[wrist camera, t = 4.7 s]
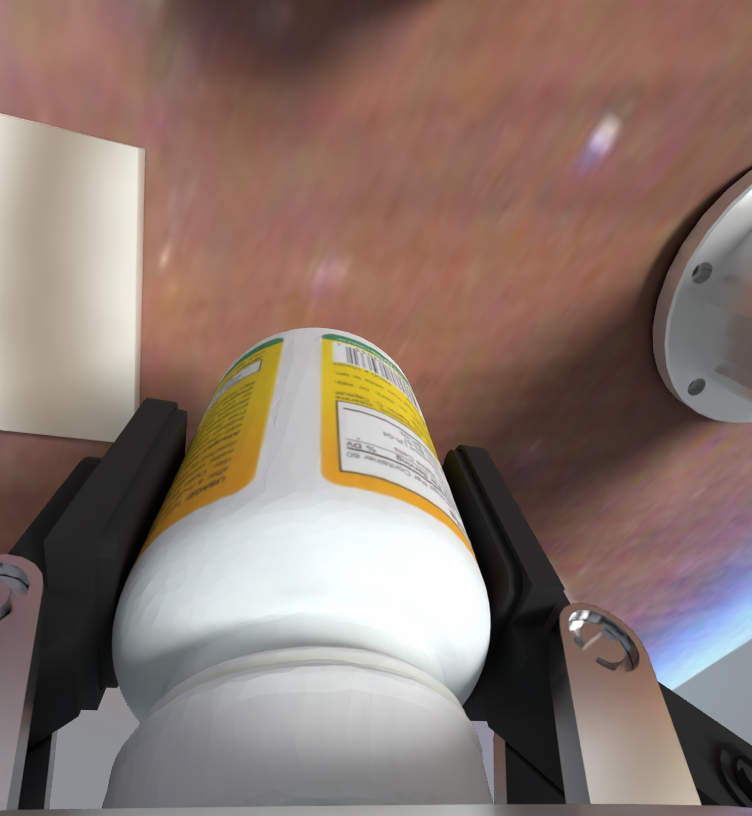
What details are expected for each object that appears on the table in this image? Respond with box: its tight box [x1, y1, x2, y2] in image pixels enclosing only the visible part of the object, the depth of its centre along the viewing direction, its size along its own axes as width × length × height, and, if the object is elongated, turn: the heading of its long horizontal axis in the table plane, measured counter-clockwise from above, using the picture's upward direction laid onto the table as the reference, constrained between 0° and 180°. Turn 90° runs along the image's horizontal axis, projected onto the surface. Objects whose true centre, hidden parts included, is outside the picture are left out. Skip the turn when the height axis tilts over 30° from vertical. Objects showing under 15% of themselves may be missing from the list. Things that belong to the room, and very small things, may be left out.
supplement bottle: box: [102, 328, 493, 809], centre depth 9 cm, size 5×5×10 cm
